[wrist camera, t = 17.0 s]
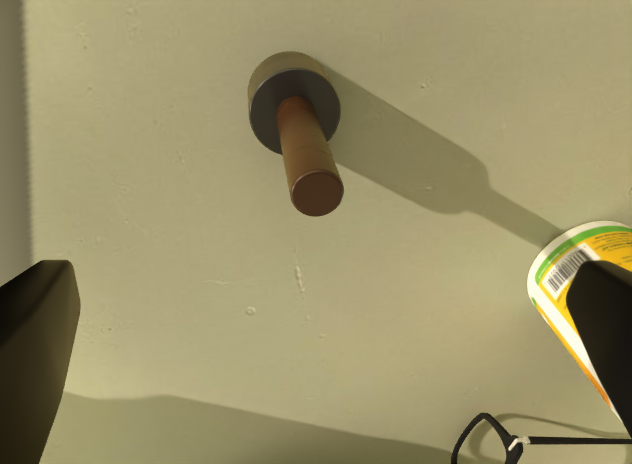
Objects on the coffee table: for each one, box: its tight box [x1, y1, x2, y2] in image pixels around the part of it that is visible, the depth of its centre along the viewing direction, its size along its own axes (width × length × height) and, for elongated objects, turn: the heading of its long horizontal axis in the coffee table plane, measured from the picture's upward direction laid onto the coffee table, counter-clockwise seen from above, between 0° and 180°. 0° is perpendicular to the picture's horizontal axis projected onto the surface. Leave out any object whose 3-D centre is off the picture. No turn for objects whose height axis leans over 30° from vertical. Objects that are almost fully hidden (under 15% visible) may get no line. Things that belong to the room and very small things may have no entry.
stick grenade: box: [248, 52, 344, 216], centre depth 14 cm, size 3×3×7 cm
